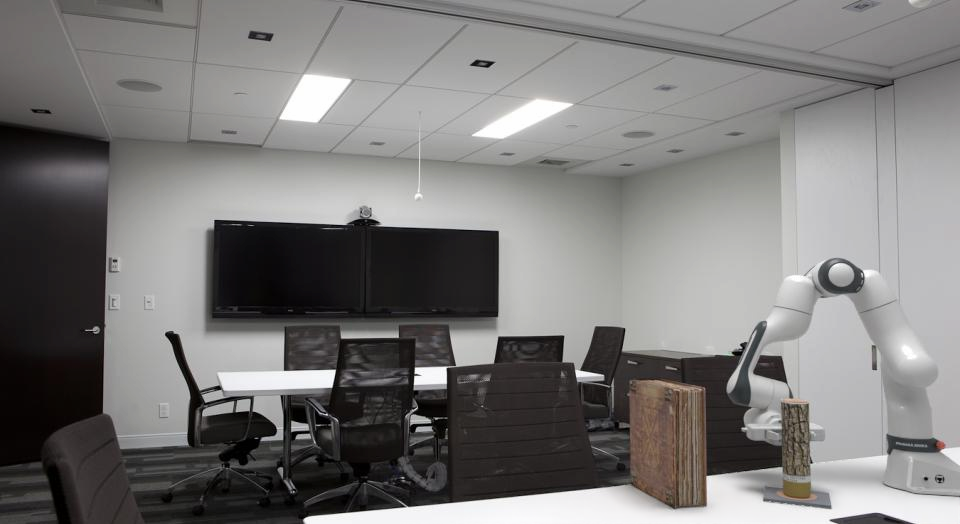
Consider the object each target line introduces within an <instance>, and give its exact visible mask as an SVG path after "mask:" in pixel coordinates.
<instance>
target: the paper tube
mask: <svg viewBox="0 0 960 524" xmlns="http://www.w3.org/2000/svg"><path fill="white" fill-rule="evenodd" d="M781 421H782V438H783V440H782V445H781V456H782V457H781V459H782V462H781V463H782V488H783V492H784V494H785V495H787V496H790V497H794V498H808V497H810V495H811V491H812V484H811V482H812V478H811V477H812V476H811V472H812V471H811V441H810V425H809V422H810V401H809V400H808V399H801V398H794V399H781Z"/></svg>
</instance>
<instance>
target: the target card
mask: <svg viewBox="0 0 960 524" xmlns="http://www.w3.org/2000/svg"><path fill="white" fill-rule="evenodd" d="M762 500H763V502H765V501H771V502H770V503H774V502H780V503H779V504H783V503H787V504H786V505H792V504H795V506H801V505H804V506H803V507H810V506H812V507H811V508H818V507H820V509H827V510H828V509H830V510H832V501H831V496H830V492H828V491H827V492H826V491H818V490H817V491H816V490H811V495H810V497H808V498H794V497H790V496H787V495H785V494H784V492H783V487H778V486H777V487H776V486H768V485H765V486H764V491H763V497H762Z"/></svg>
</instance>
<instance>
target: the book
mask: <svg viewBox="0 0 960 524" xmlns="http://www.w3.org/2000/svg"><path fill="white" fill-rule="evenodd" d="M628 382H629V383H628V384H629V386H628V390H629V393H628V394H629V396H628V397H629V402H628V403H629V466H630V467H629V468H630V469H629V470H630V471H629V473H630V475H629V477H630V485H631V486H633V487H635V488H636V489H638V490H640V491H641V492H643V493H645V494H647V495H648V496H649V497H652V498H654V499H656V500H658V501H659V502H661V503H662V504H664V505H666V506H667V507H670V508H671V509H672V510H676V509H677V507H687V506H692V507H693V506H702V505H703V506H702V507H704V506H705V507H704V508H706V507H707V506H708V500H707V499H708V496H707V495H708V494H707V493H708V489H707V486H708V484H707V482H708V480H707V428H706V427H707V422H706V421H707V420H706V418H707V417H706V416H707V415H706V414H707V413H706V411H707V410H706V405H707V403H706V388H705V387H703V386H698V385H693V384H688V383H682V382H678V381H673V380H667V379H663V378H659V377H657V378H630V379H629V380H628Z"/></svg>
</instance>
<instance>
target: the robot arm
mask: <svg viewBox="0 0 960 524" xmlns="http://www.w3.org/2000/svg"><path fill="white" fill-rule="evenodd" d="M776 293H777V294H776V296H775V299H774V302H773V307H772V310H771V312H770V314H769V316H767V318H765V320H762V321H759V322H758V323H757V324H756V325H755V327H754V329H753V331H752V332H751V335H750V336H749V339H748V341H747V343H746V345H745V347H744V349H743V352H742V354H741V356H740V358H739V360H738V363H737V365H736V367H735V369H734V370H733V372H732V373H731V375H730V377H729V379H728V382H727V384H726V394H727V396H728V398H729V399H730V401H731V402H732V403H733V404H734V405H739V406H744V407H750V409H747V410H746V412H745V413H744V414H743V415H744V416H743V423H744V427H741V432H743V433H746V437H747V438H748V439H749V440H751V441H755V442H756V441H759V442H760V441H764V442H766V443H768V444H771V445H773V446H776V447H777V446H782V440H783V438H782V421H781V399H795V398H794V394H793V392H792V389H791V387H790V386H789V385H788V383H786V382H783V381H780V380H776V379H773V378H769V377H765V376H762V375H757V374H754V370H755V368H756V366H757V363H758V361H759V360H760V357H761V354H762V352H763V351H764V349H765V348H766V347H767V346H768V345H770V344H774V343H778V342H788V341H789V342H790V341H794V340H797V339H800V338H801V337H803V336H804V335H805V334H807V332H808V330H809V328H810V325H811V322H812V320H813V316H814V315H813V314H814V309H815V305H816V304H817V302H818V300H819V299H824V298H825V299H826V298H834V297H835V298H836V297H839V296H842V295H844V296H846V297H847V298H848V299H849V300H850V301H851V303H853V305H854V308H855V310H856V312H857V314H858V316H859V318H860V320H861V322H862V324H863V327H864V328H865V331H866V333H867V335H868V336H869V338H870V340H871V341H872V343H873V344H874V346H875V347H876V349H877V351H879V353H880V355H881V356H882V358H881V359H880V370H881V378H882V386H883V391H884V396H885V404H886V417H887V418H886V419H887V420H886V421H887V433H886V437H885V451H886V454H887V459H886V468H885V471H884V472H885V473H884V477H883V479H882V484H884V485H886V486H889V487H892V488H895V489H899V490H902V491H903V490H904V491H907V492H909V493H914V494H920V495H922V494H923V495H939V496H940V495H941V496H953V497H954V496H955V497H956V496H957V497H960V465H959V464H958V463H957V462H955V461H954V460H952V459H951V458H950V457H949V456H948V455H946V454H945V453H943V452H942V451H943V450H944V449H946V448H947V447H946V443H944V441H942V440H939V439H938V438H937V439H936V438H935V437H934V435H933V411H932V407H931V404H930V401H929V397H928V392H927V388H928V387H930V386H932V385H934V383H935V382H936V381H937V379H938V377H939V367H938V364H937V363H936V362H935V360H934V359H933V358H932V356H931V355H930V353H929V351H928V350H927V347H926V346H925V344H924V343H923V342H922V340H921V339H920V337H919V335H918V334H917V333H916V331H915V330H914V328H913V327H912V325H911V323H910V322H909V320H908V318H907V315H906V314H905V312H904V310H903V308H902V306H901V304H900V302H899V300H898V297H897V296H896V294H895V292H894V291H893V289H892V288H891V286H890V285H889V283H888V281H887V280H886V279H885V278H884V276H883V275H882V274H881V273H880V272H879V271H877V270H874V269H863V270H862V269H861V268H859V267H858V266H857V265H855V264H854V263H853V262H851V261H850V260H848V259H845V258H842V257H833V258H829V259H825V260H821V261H820V262H819V263H817V264H815V265H813V266H812V267H811V268H810V269H809V270H808V271H807V272H806V273H805V274H804V275H801V274H793V275H791V274H790V275H789V276H786V277H785V278H784V279H783V280H782V282H781V284H780V286H779V287H778V291H777V292H776ZM809 425H810V442H824V441H825V439H826V431H825V428H824V427H823V426H821V425H819V424H817V423H815V422H811V421H809Z"/></svg>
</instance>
